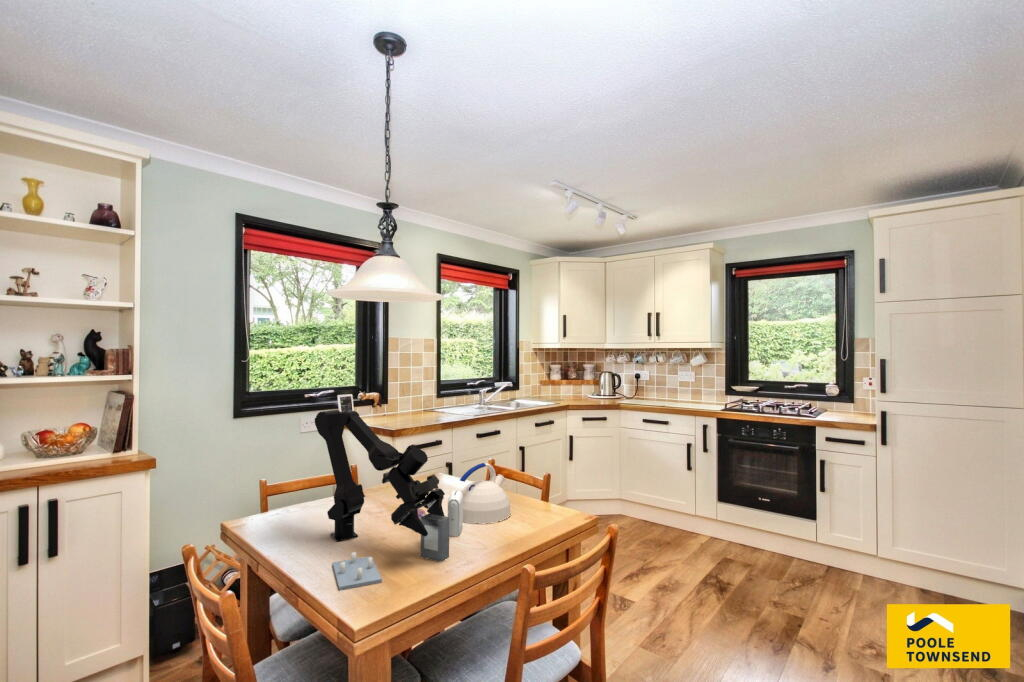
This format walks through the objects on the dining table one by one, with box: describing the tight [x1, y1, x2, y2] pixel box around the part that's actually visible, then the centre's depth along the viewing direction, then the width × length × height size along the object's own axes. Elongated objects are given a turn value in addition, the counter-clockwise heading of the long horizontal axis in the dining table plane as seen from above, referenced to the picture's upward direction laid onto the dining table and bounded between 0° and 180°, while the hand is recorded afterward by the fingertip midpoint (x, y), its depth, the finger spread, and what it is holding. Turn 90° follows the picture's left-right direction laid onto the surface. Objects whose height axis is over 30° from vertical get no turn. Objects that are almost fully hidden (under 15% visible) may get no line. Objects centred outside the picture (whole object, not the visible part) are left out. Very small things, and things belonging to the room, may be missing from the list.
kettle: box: [459, 462, 512, 525], centre depth 171 cm, size 20×21×18 cm
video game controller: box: [418, 508, 427, 520], centre depth 158 cm, size 10×5×7 cm, turn 28°
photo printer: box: [447, 489, 464, 537], centre depth 155 cm, size 10×4×12 cm, turn 0°
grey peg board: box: [332, 551, 383, 591], centre depth 124 cm, size 15×10×3 cm, turn 26°
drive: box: [420, 513, 450, 563], centre depth 135 cm, size 7×4×11 cm, turn 65°
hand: (436, 529), depth 135 cm, fingers open, 9 cm apart
